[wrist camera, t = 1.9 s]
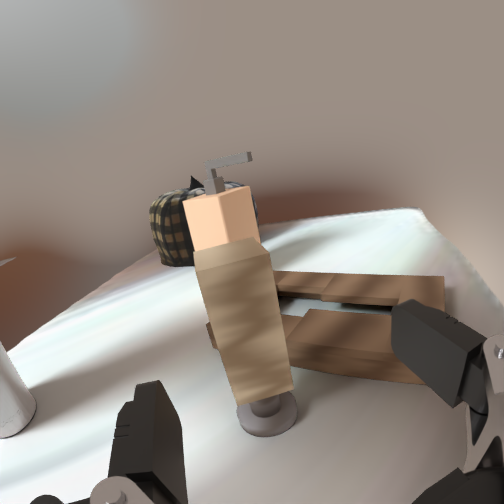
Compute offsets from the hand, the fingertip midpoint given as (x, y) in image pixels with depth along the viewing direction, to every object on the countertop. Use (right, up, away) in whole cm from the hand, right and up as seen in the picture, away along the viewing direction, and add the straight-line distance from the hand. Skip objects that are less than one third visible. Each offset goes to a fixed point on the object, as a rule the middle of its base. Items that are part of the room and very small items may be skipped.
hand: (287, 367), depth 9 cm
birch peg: (0, -11, +15) cm, 19 cm away
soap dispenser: (-3, -2, +47) cm, 47 cm away
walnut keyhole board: (+9, -5, +26) cm, 28 cm away
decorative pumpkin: (-13, +5, +73) cm, 74 cm away
